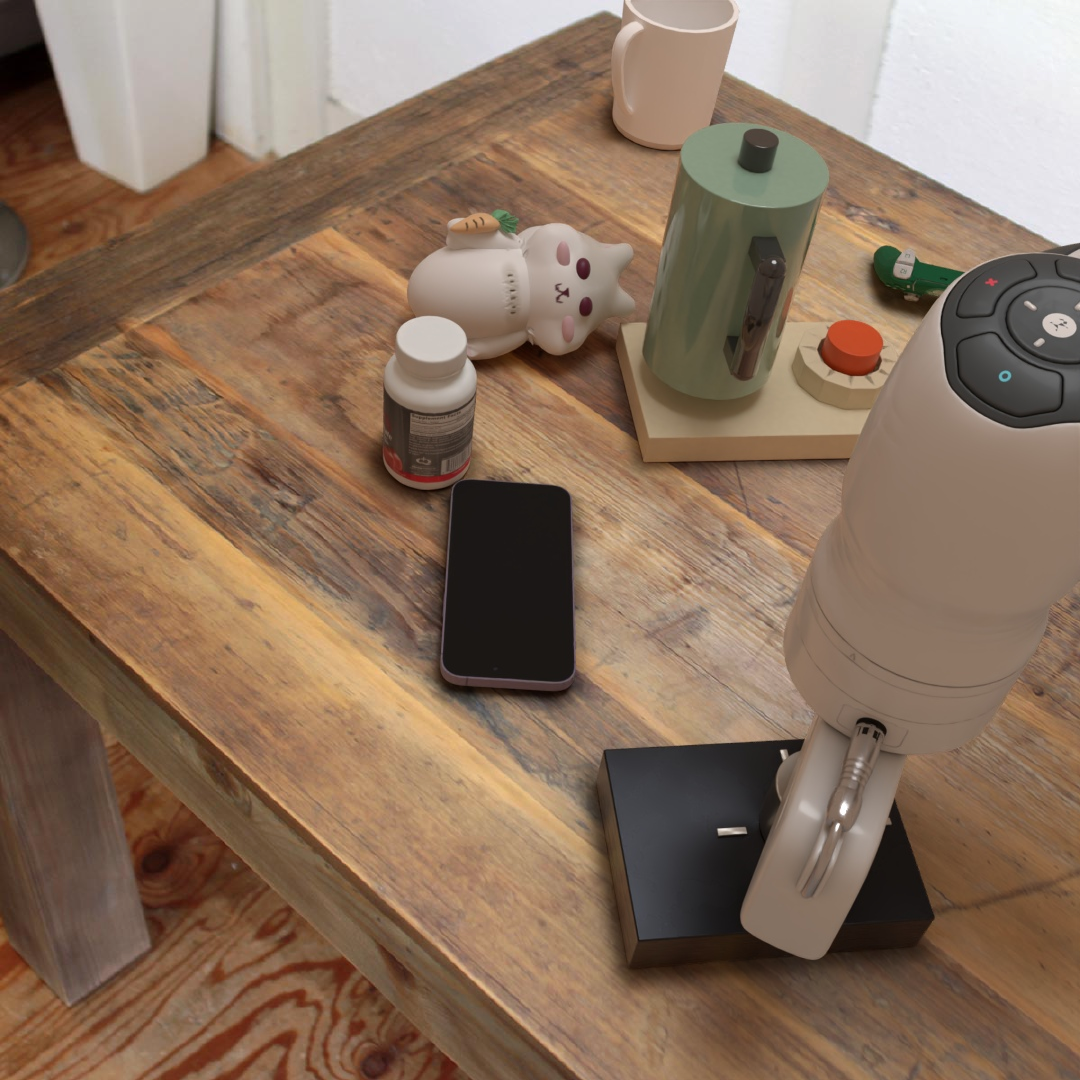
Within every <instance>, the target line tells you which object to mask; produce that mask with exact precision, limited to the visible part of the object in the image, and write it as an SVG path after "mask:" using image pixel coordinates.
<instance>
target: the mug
mask: <svg viewBox="0 0 1080 1080" xmlns="http://www.w3.org/2000/svg"><path fill="white" fill-rule="evenodd" d="M740 12H741V11H740V8H739V5H738V2H736V0H623V5H622V13H621V14H622V15H621V25H620V30H619V31H618V33H617V34H616V36H615V39H614V42H613V44H612V51H611V56H610V57H611V58H610V71H611V72H610V73H611V74H610V76H611V83H612V84H611V85H612V92H613V103H612V114H611V115H612V116H611V117H612V121H613V124H614V126H615V127H616V129H617V131H618V132H619V133H620V134H621V135H622V136H624V137H625V138H626V139H628V140H630V141H631V142H633V143H636V144H638V145H640V146H643V147H646V148H651V149H655V150H665V151H677V150H681V148H682V146H683V144H684V142H685V141H686V139H687V138H688V137H689V136H690V135H692V134H693V133H695V132H696V131H698V130H700V129H702V128H705V127H708V126H711V122H712V118H713V114H714V110H715V106H716V102H717V99H718V95H719V91H720V88H721V84H722V80H723V77H724V73H725V69H726V66H727V61H728V58H729V54H730V50H731V47H732V44H733V39H734V36H735V32H736V29H737V23H738V20H739V17H740Z"/></svg>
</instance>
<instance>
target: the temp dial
mask: <svg viewBox="0 0 1080 1080" xmlns="http://www.w3.org/2000/svg"><path fill="white" fill-rule="evenodd" d="M799 754H800V751H798V752H796V753H794V754H792V755H790V756H789V757H787V758H786V759H785V760H784V761H783V762H782V764H781V765H780V767H779V769H778V771H777V773H776V775H775V778H774V780H773V782H772V785H771V787H770V789H769V792H768V794H767V796H766V799H765V801H764V803H763V806H762V808H761V811H760V817H759V823H760V829H761V832H762V835H763V837H764V840H765V841H767V838H768V835H769V833H770V830H771V827H772V825H773V822H774V819H775V817H776V814H777V812H778V809H779V806H780V804H781V801H782V798H783V796H784V793H785V791H786V788H787V785H788V783H789V780H790V777H791V775H792V772H793V770H794V767H795V764H796V762H797V759H798V756H799Z"/></svg>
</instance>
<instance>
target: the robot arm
mask: <svg viewBox="0 0 1080 1080" xmlns="http://www.w3.org/2000/svg"><path fill="white" fill-rule="evenodd" d="M964 272H965V273H964V274H963V275H961V276H960V277H958V278H957V279H956V280H954V281H953V282H952V283H951V284H950V285H949V286H948V287H947V288H946V290H945V291H944V292H943V293H942V294H941V296H940V297H938V298H937V299H936V300H935V301H934V303H933V304H932V305H931V307H930V309H929V310H928V311H927V313H926V314H925V315H924V317H923V318H922V320H921V321H920V322H919V324H918V326H917V327H916V328H915V330H914V331H913V333H912V335H911V336H910V337H909V339H908V341H907V343H906V344H905V346H904V348H903V350H902V351H901V353H900V355H898V357H899V358H898V360H897V361H896V363H895V365H894V367H893V368H892V370H891V372H890V374H889V375H888V377H887V379H886V381H885V383H884V385H883V387H882V389H881V390H880V392H879V394H878V396H877V398H876V400H875V402H874V404H873V406H872V409H871V411H870V413H869V415H868V417H867V419H866V422H865V424H864V426H863V428H862V431H861V433H860V435H859V437H858V440H857V442H856V445H855V447H854V450H853V452H852V455H851V457H850V458H849V460H848V463H847V465H846V468H845V470H844V474H843V478H842V482H841V493H840V506H841V507H840V509H841V511H839V513H837V514H836V516H834V517H833V519H832V520H830V522H829V524H828V525H827V526H826V527H825V529H824V530H823V532H822V533H821V535H820V537H819V539H818V541H817V543H816V545H815V548H814V550H813V552H812V555H811V558H810V559H809V563H808V566H807V568H806V571H805V573H804V576H803V579H802V580H801V581H802V582H801V584H800V587H799V589H798V592H797V594H796V597H795V600H794V602H793V605H792V607H791V609H790V612H789V615H788V618H787V621H786V623H785V626H784V630H783V637H782V639H783V640H782V646H783V648H782V649H783V657H784V662H785V666H786V669H787V671H788V675H789V677H790V680H791V681H792V683H793V685H794V687H795V688H796V690H797V691H798V694H800V696H801V697H802V699H803V700H804V701H805V703H806V704H807V705H808V706H809V708H811V710H813V712H814V715H813V718H812V719H811V723H810V725H809V728H808V731H807V732H806V736H805V738H804V739H805V741H804V743H803V746H802V748H801V751H800V754H799V756H798V759H797V762H796V764H795V767H794V770H793V772H792V775H791V777H790V780H789V783H788V785H787V788H786V791H785V793H784V796H783V798H782V801H781V804H780V806H779V809H778V812H777V814H776V817H775V819H774V822H773V825H772V827H771V830H770V833H769V835H768V838H767V841H766V843H765V846H764V848H763V851H762V854H761V856H760V859H759V862H758V864H757V867H756V869H755V872H754V875H753V877H752V880H751V883H750V885H749V888H748V891H747V893H746V896H745V899H744V901H743V904H742V908H741V913H740V919H741V924H742V926H743V927H744V928H745V929H746V930H747V931H748V932H749V933H751V934H752V935H754V936H755V937H757V938H759V939H761V940H763V941H765V942H767V943H769V944H771V945H773V946H775V947H777V948H779V949H781V950H784V951H786V952H789V953H791V954H794V955H796V956H797V957H799V958H803V959H805V960H811V961H816V960H819V959H821V958H823V957H824V956H825V955H826V954H827V953H826V952H827V951H828V949H829V948H830V946H831V944H832V942H833V940H834V938H835V937H836V935H837V933H838V931H839V929H840V927H841V926H842V924H843V922H844V920H845V918H846V916H847V914H848V912H849V910H850V908H851V906H852V905H853V903H854V901H855V899H856V897H857V895H858V893H859V891H860V889H861V887H862V885H863V883H864V881H865V879H866V877H867V874H868V872H869V870H870V867H871V865H872V863H873V860H874V858H875V855H876V853H877V850H878V847H879V845H880V842H881V839H882V836H883V833H884V829H885V826H886V823H887V820H888V817H889V813H890V810H891V807H892V804H893V801H894V798H895V797H896V794H897V792H898V787H899V785H900V781H901V777H902V775H903V771H904V768H905V765H906V762H907V760H908V756H930V755H931V756H932V755H938V754H943V753H947V752H950V751H953V750H956V749H959V748H961V747H963V746H965V745H967V744H969V743H971V742H972V741H974V740H975V739H976V738H978V737H979V736H980V735H981V734H982V733H983V732H984V731H985V730H986V729H987V728H988V727H989V725H990V724H991V723H992V721H993V720H994V718H995V716H996V715H997V713H998V712H999V710H1000V709H1001V707H1002V705H1003V704H1004V702H1005V701H1006V699H1007V698H1008V696H1009V695H1010V693H1011V692H1012V690H1013V688H1014V687H1015V685H1016V683H1017V681H1018V680H1019V678H1020V677H1021V676H1022V673H1023V672H1024V670H1025V669H1026V668H1027V666H1028V664H1029V662H1031V660H1032V658H1033V656H1034V655H1035V653H1036V651H1038V648H1039V646H1040V644H1041V642H1042V640H1043V637H1044V635H1045V632H1046V629H1047V626H1048V622H1049V615H1050V614H1049V613H1050V607H1051V606H1053V605H1055V604H1056V603H1057V602H1059V601H1061V600H1062V599H1063V598H1064V597H1065V596H1066V595H1068V594H1069V593H1070V592H1071V591H1072V590H1073V589H1074V588H1075V587H1076V586H1077V585H1078V583H1079V582H1080V242H1076V243H1070V244H1066V245H1061V246H1056V247H1052V248H1048V249H1045V250H1042V251H1039V252H1019V253H1012V254H1006V255H1002V256H999V257H995V258H992V259H988V260H986V261H984V262H981V263H979V264H977V265H975V266H973V267H971V268H970V269H968V270H967V271H964ZM796 956H795V957H796Z"/></svg>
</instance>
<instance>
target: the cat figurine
mask: <svg viewBox="0 0 1080 1080" xmlns="http://www.w3.org/2000/svg"><path fill="white" fill-rule="evenodd" d="M519 220H520V219H519V218H518V217H517V216H516V215H511V213H510V212H508V211H507V210H503V209H494V210H493V211H492V212H491V213H490V214H489V213H487V212H486V213H485V212H476V213H473V214H471V215H469V216H467V217H456V218H453V219H451V220H449V221H448V222H447V224H446V230H447V235H446V238H445V244H446V246H443V247H441V248H439V249H437V250H435V251H433V252H432V253H430V254H429V255H427V256H426V257H425V258H424V259H422V260H421V261H420V262H419V263H418V264H417V266H416V267H415V268H414V270H413V271H412V273H411V275H410V277H409V279H408V283H407V286H406V297H407V303H408V305H409V308H410V310H411V312H412V313H413V315H414V316H415V318H418V317H422V316H438V317H442V318H446V319H449V320H451V321H453V322H455V323H456V324H457V325H459V326H460V327H461V328H462V329H463V331H464V332H465V334H466V338H467V358H468V359H469V360H470V361H481V360H491V359H495V358H497V357H500V356H503V355H506V354H508V353H510V352H513V351H514V350H516V349H518V348H519V347H521V346H523V345H524V344H525V343H526V342H528V343H531V345H532V346H534V345H535V346H539V347H540V348H541V349H542V350H543V351H545V352H546V353H548V354H550V355H553V356H562V355H565V354H569V353H571V352H574V351H576V350H578V349H579V348H580V347H581V346H582V345H583V344H584V343H585V341H586V340H587V338H588V336H589V335H590V334H592V332H594V331H595V330H596V329H598V328H599V326H600V325H601V324H603V323H604V322H605V321H606V320H608V319H611V318H618V319H619V318H628V317H631V316H632V315H633V314H634V313H635V311H636V308H637V304H636V301H635V300H634V298H633V297H632V296H631V295H630V294H628V293H627V292H626V291H625V290H623V288H622V287H621V286H620V284H619V280H620V278H621V275H622V274H623V273H624V271H625V270H626V269H627V268H628V267H629V265H631V263H632V261H633V259H634V255H635V253H634V249H633V247H632V246H631V245H630V244H629V243H627V242H621V243H608V242H607V243H605V242H600V241H598V240H596V239H595V238H594V237H592V236H590V235H588V234H587V233H583V232H582V231H579V230H576V229H575V228H574V227H572V226H571V225H569V224H567V223H562V222H551V223H546V224H544V225H536V226H530V227H528V228H525V229H524V230H522V231H521V232H519V233H518V234H516V233H517V226H518V223H519Z"/></svg>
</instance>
